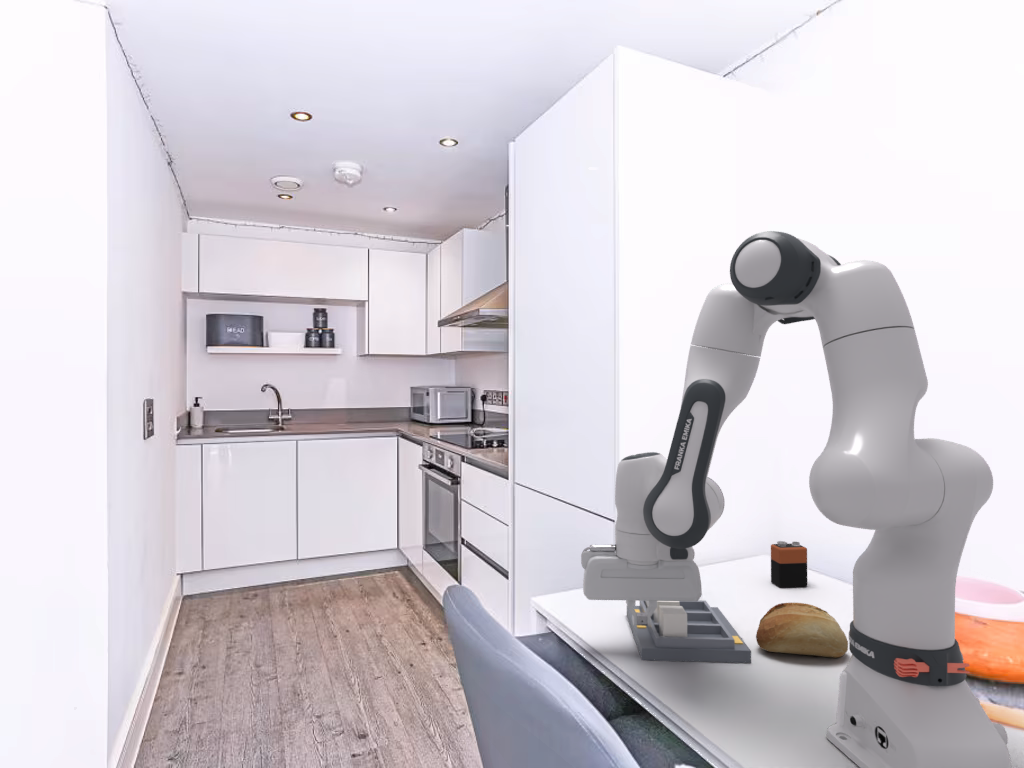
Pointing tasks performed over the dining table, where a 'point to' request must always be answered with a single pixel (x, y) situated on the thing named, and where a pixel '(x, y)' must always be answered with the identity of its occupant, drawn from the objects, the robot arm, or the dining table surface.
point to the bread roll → (801, 631)
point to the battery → (788, 565)
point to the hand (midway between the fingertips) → (641, 624)
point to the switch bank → (692, 637)
